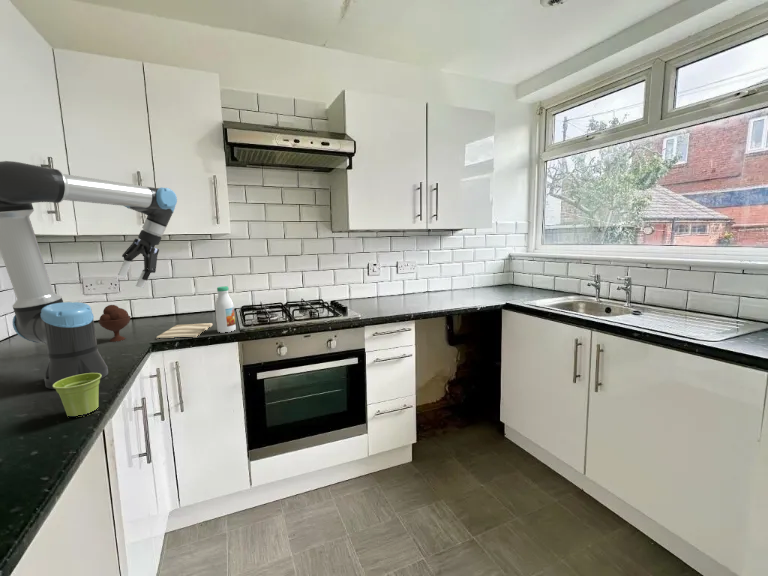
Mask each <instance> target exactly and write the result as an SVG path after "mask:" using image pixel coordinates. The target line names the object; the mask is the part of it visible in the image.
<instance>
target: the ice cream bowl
mask: <svg viewBox="0 0 768 576" xmlns="http://www.w3.org/2000/svg"><path fill="white" fill-rule="evenodd" d="M97 321H98V323H99V325H100V326H101V327H102V328H103V329H105V330H108V331H111V332H113V334H114V335H113V337H112V338H110V339H109V342H111V343H114V342H115V343H116V341H117V342H120V341H121V340H122V341H125V340H126V337H124V336H122V335H120V330H122V329H125V328H126V326H128V324H129V323H130V321H131V315H129V313H128V311H127V310H126V309H124V308H121V307H119V306H118V305H115V304H108V305H106V306H105V307H104V309H103V312H102V314H101V315H100V317H99V319H98V320H97ZM124 339H125V340H124Z"/></svg>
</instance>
